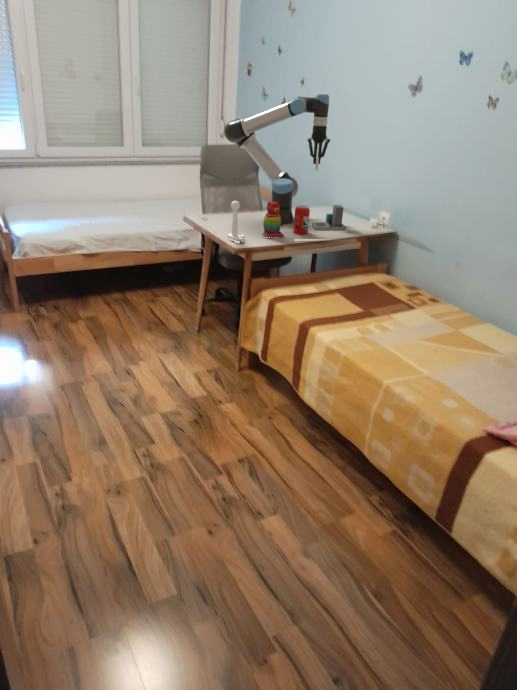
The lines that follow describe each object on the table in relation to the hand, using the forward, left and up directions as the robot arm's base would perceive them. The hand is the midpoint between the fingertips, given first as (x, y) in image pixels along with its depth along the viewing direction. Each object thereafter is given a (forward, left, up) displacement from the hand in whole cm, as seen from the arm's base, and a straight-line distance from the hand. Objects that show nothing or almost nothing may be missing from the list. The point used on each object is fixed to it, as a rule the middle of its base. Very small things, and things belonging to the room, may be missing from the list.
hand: (315, 169), depth 298 cm
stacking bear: (-30, -33, -29) cm, 53 cm away
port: (+8, -20, -27) cm, 35 cm away
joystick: (-49, -41, -29) cm, 70 cm away
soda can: (-14, -31, -29) cm, 44 cm away
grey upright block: (+8, -22, -27) cm, 36 cm away
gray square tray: (+4, -22, -28) cm, 36 cm away
